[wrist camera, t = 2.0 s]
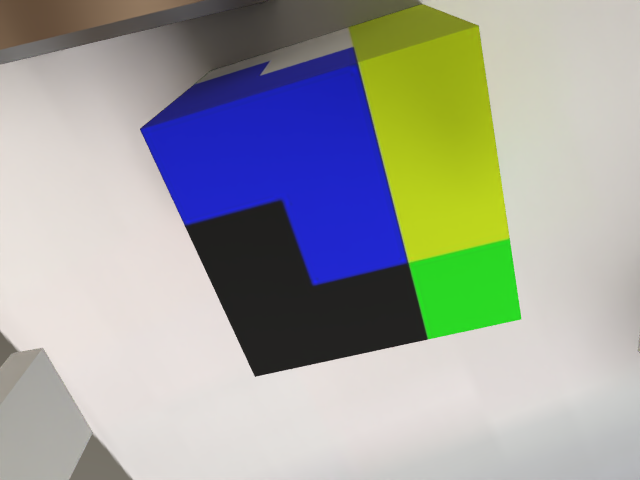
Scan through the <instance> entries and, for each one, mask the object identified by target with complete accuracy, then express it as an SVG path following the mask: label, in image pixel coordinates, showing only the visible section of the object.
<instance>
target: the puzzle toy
mask: <svg viewBox="0 0 640 480" xmlns="http://www.w3.org/2000/svg"><path fill="white" fill-rule="evenodd" d="M140 130H141V132H142V134H143V137H144V139H145V141H146V143H147V145H148V147H149V150H150V152H151V154H152V156H153V158H154V160H155V162H156V165H157V167H158V169H159V171H160V173H161V175H162V178H163V180H164V182H165V184H166V186H167V188H168V190H169V193H170V195H171V197H172V199H173V201H174V203H175V206H176V208H177V210H178V212H179V214H180V216H181V218H182V221H183V223H184V225H185V227H186V229H187V231H188V233H189V236H190V238H191V240H192V242H193V244H194V246H195V249H196V251H197V253H198V255H199V257H200V259H201V261H202V264H203V266H204V268H205V270H206V272H207V274H208V277H209V279H210V281H211V283H212V285H213V287H214V289H215V292H216V294H217V296H218V298H219V300H220V302H221V305H222V307H223V309H224V311H225V313H226V315H227V317H228V320H229V322H230V324H231V326H232V328H233V330H234V332H235V335H236V337H237V339H238V341H239V343H240V345H241V348H242V350H243V352H244V354H245V356H246V358H247V360H248V363H249V365H250V367H251V369H252V371H253V373H254V376H255V377H256V376H260V375H265V374H270V373H274V372H279V371H283V370H288V369H293V368H297V367H302V366H307V365H311V364H316V363H321V362H325V361H330V360H335V359H339V358H344V357H348V356H353V355H358V354H362V353H367V352H372V351H376V350H381V349H386V348H390V347H395V346H400V345H404V344H409V343H413V342H418V341H423V340H427V339H432V338H437V337H441V336H446V335H451V334H455V333H460V332H465V331H469V330H474V329H478V328H483V327H488V326H492V325H497V324H502V323H506V322H511V321H516V320H520V319H521V313H520V307H519V300H518V293H517V286H516V279H515V272H514V265H513V259H512V252H511V245H510V238H509V231H508V224H507V217H506V211H505V204H504V197H503V190H502V183H501V176H500V169H499V163H498V156H497V149H496V142H495V135H494V128H493V121H492V115H491V108H490V101H489V94H488V87H487V80H486V73H485V67H484V60H483V53H482V46H481V39H480V32H479V26H478V25H475V24H473V23H470V22H468V21H465V20H462V19H460V18H457V17H455V16H452V15H449V14H447V13H444V12H442V11H439V10H436V9H434V8H431V7H429V6H426V5H423V4H420V5H417V6H414V7H411V8H408V9H405V10H401V11H398V12H395V13H392V14H389V15H386V16H383V17H379V18H376V19H373V20H370V21H367V22H364V23H360V24H357V25H354V26H351V27H348V28H345V29H341V30H338V31H335V32H332V33H329V34H326V35H323V36H319V37H316V38H313V39H310V40H307V41H304V42H300V43H297V44H294V45H291V46H288V47H285V48H281V49H278V50H275V51H272V52H269V53H266V54H263V55H259V56H256V57H253V58H250V59H247V60H244V61H240V62H237V63H234V64H231V65H228V66H225V67H221V68H218V69H215V70H212V71H210V72H209V73H208V74H206V75H205V76H204V77H203V78H202V79H200V80H199V81H198V82H197V83H195V84H194V85H193V86H192V87H191V88H189V89H188V90H187V91H186V92H184V93H183V94H182V95H181V96H180V97H178V98H177V99H176V100H175V101H173V102H172V103H171V104H170V105H169V106H167V107H166V108H165V109H164V110H162V111H161V112H160V113H159V114H158V115H156V116H155V117H154V118H153V119H151V120H150V121H149V122H148V123H147V124H145V125H144V126H143V127H142V128H141V129H140Z"/></svg>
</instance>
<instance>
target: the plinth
mask: <svg viewBox="0 0 640 480" xmlns="http://www.w3.org/2000/svg"><path fill="white" fill-rule="evenodd" d="M265 1H269V0H0V64H5V63H9V62H13V61H17V60H21V59H26V58H30V57H34V56H38V55H43V54H47V53H51V52H55V51H59V50H64V49H68V48H72V47H76V46H80V45H85V44H89V43H93V42H97V41H101V40H106V39H110V38H114V37H118V36H122V35H127V34H131V33H135V32H139V31H143V30H148V29H152V28H156V27H160V26H164V25H169V24H173V23H177V22H181V21H185V20H190V19H194V18H198V17H202V16H206V15H211V14H215V13H219V12H223V11H227V10H232V9H236V8H240V7H244V6H248V5H253V4H257V3H261V2H265Z"/></svg>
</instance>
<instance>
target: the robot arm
mask: <svg viewBox="0 0 640 480" xmlns="http://www.w3.org/2000/svg"><path fill="white" fill-rule="evenodd" d="M638 351H639V353H640V335H639V346H638ZM92 433H93V432H92V430H91V428H90V427H89V425H88V423H87V422H86V420H85V418H84V417H83V415H82V413H81V412H80V410H79V408H78V406H77V405H76V403H75V401H74V400H73V398H72V396H71V395H70V393H69V391H68V390H67V388H66V386H65V384H64V383H63V381H62V379H61V378H60V376H59V374H58V373H57V371H56V369H55V368H54V366H53V364H52V362H51V361H50V359H49V357H48V356H47V354H46V352H45V351H44V349H43V348H40V349H34V350H28V351H22V352H16V353H12V354H11V355H10V356H9V358H8V359H7V360H6V361H5V363H4V364H3V365H2V366H1V368H0V480H69V479H70V477H71V474H72V472H73V471H74V469H75V467H76V464H77V463H78V461H79V459H80V456H81V455H82V453H83V451H84V449H85V447H86V445H87V443H88V441H89V439H90V437H91V435H92Z"/></svg>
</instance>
